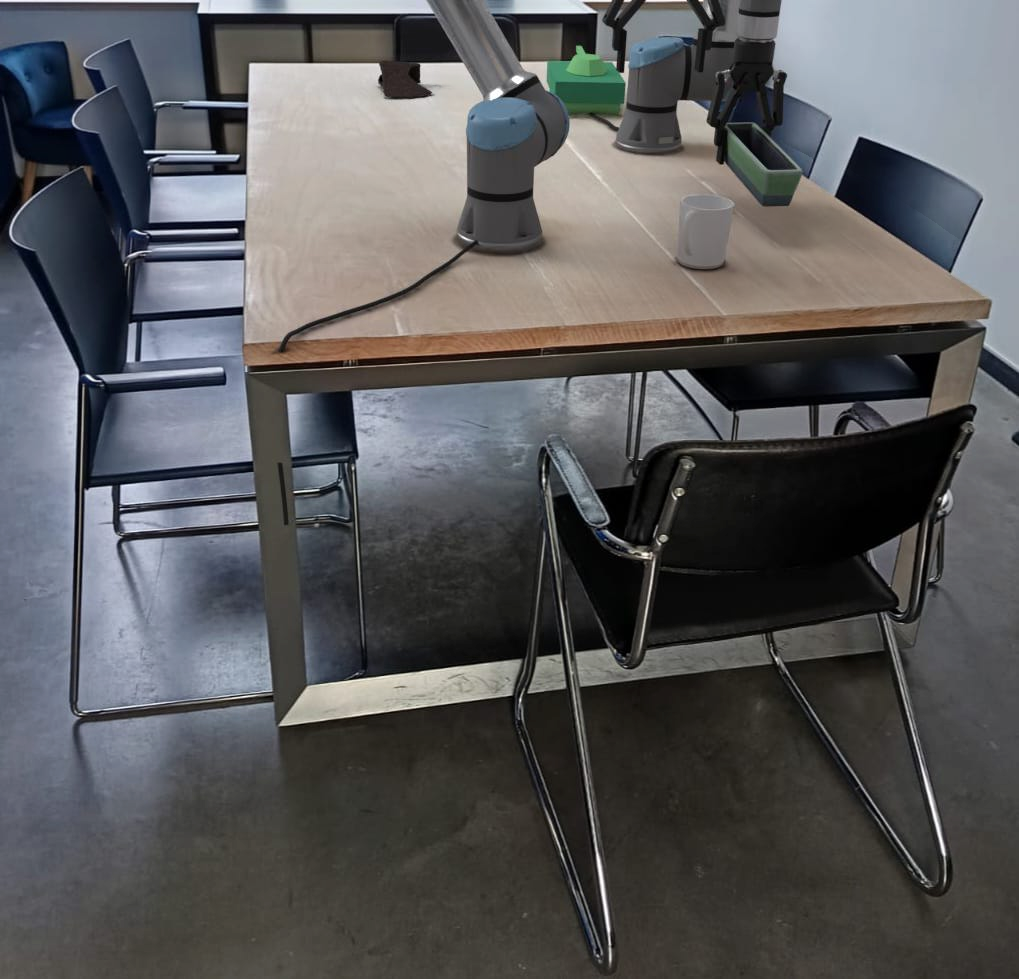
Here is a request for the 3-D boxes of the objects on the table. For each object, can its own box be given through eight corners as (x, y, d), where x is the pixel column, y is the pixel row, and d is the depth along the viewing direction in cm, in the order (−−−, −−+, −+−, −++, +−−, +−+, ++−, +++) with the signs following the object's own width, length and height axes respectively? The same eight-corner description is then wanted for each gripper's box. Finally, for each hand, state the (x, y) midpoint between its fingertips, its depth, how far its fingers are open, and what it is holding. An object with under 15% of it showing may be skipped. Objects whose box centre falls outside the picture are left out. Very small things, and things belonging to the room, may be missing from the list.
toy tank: (609, 42, 301) (627, 67, 272) (606, 88, 308) (623, 118, 278) (545, 41, 301) (556, 65, 271) (543, 87, 307) (553, 116, 277)
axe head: (443, 87, 294) (392, 77, 287) (436, 115, 299) (385, 106, 292) (421, 62, 307) (371, 52, 300) (414, 89, 311) (365, 80, 304)
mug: (691, 248, 193) (697, 191, 188) (736, 260, 189) (743, 201, 183) (657, 264, 186) (663, 205, 181) (703, 277, 181) (710, 216, 176)
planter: (797, 209, 197) (804, 170, 193) (759, 210, 196) (765, 171, 192) (750, 157, 219) (755, 121, 215) (715, 158, 218) (720, 122, 214)
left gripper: (740, -72, 178) (724, 66, 189) (589, -73, 174) (582, 67, 186) (755, -68, 171) (737, 75, 182) (599, -69, 168) (591, 76, 179)
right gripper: (800, 34, 207) (781, 155, 220) (697, 34, 205) (684, 157, 217) (814, 42, 201) (794, 166, 214) (709, 43, 199) (694, 168, 211)
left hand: (659, 71), depth 184 cm, fingers open, 13 cm apart
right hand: (739, 162), depth 215 cm, fingers closed on planter, 7 cm apart
